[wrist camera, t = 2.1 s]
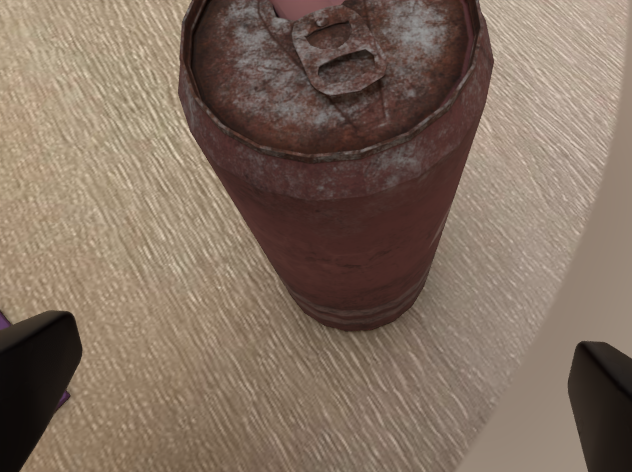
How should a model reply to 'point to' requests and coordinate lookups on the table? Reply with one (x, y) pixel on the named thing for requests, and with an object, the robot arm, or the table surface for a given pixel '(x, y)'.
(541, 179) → the table surface
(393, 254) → the can
